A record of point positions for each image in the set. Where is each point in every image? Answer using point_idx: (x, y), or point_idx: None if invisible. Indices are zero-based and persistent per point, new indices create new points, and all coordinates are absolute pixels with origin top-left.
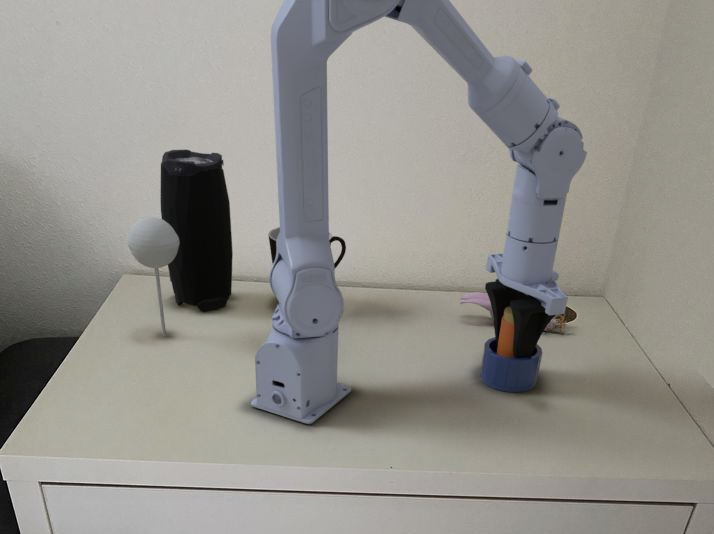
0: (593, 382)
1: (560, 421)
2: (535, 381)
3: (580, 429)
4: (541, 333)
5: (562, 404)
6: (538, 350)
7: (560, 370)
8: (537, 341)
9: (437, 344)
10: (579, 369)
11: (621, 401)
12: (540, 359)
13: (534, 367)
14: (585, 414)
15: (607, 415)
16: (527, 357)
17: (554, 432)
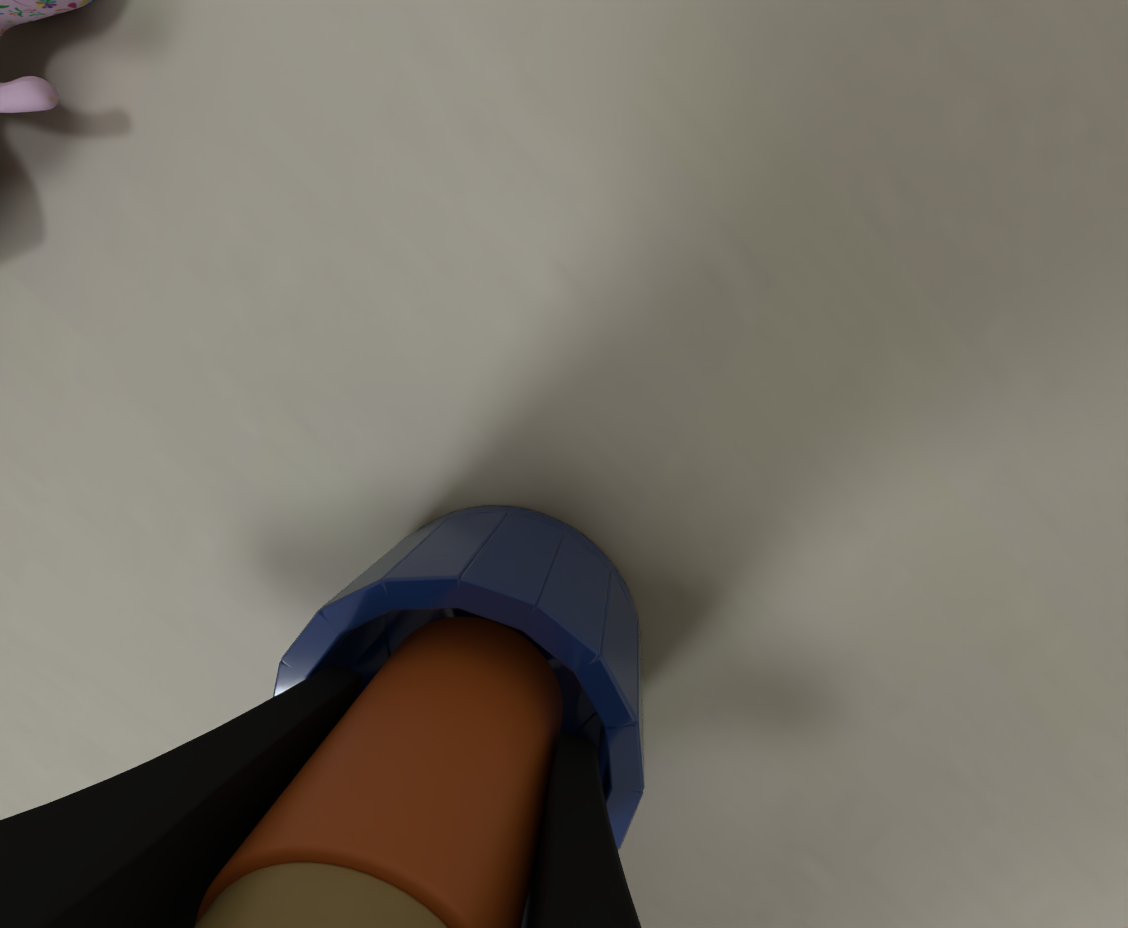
0: (769, 254)
1: (950, 732)
2: (627, 599)
3: (1069, 715)
4: (634, 919)
5: (841, 603)
6: (559, 652)
7: (556, 320)
8: (612, 838)
9: (92, 652)
10: (602, 200)
11: (1039, 287)
12: (614, 650)
13: (640, 702)
14: (989, 584)
15: (1082, 494)
16: (545, 689)
17: (998, 822)
